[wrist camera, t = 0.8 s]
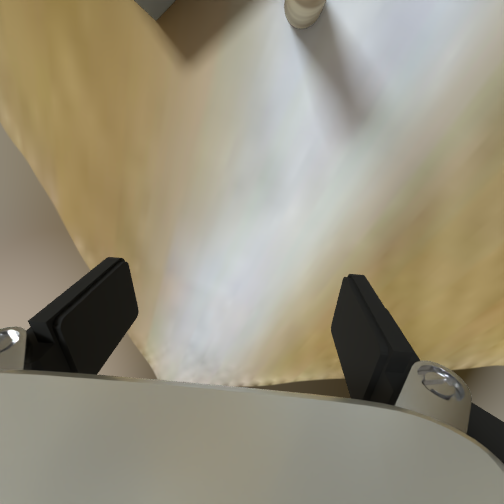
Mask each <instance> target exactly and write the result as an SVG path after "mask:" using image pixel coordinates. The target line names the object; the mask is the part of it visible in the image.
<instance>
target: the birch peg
mask: <svg viewBox="0 0 504 504" xmlns="http://www.w3.org/2000/svg"><path fill="white" fill-rule="evenodd" d="M325 2H326V0H285V3H284V10H285V15H286V18H287V20H288V21H289V23H290V24H291V25H292V26H293V27H295V28H298V29H305V28H308V27H310V26H311V25H313V24H314V23H315V22H316V20H317V19H318V17H319V15H320V13H321V11H322V9H323V7H324V4H325Z"/></svg>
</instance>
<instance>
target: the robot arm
mask: <svg viewBox="0 0 504 504" xmlns="http://www.w3.org/2000/svg"><path fill="white" fill-rule="evenodd" d="M137 316H138V306H137V301H136V297H135V292H134V287H133V283H132V278H131V273H130V269H129V265H128V263H127V262H125V260H124V259H123V258H114V257H108V258H106V259H105V260H104V261H102V262H101V263H100V264H99V265H97V266H96V267H95V268H94V269H92V270H91V271H90V272H89V273H87V274H86V275H85V276H84V277H82V278H81V279H80V280H79V281H77V282H76V283H75V284H74V285H72V286H71V287H70V288H69V289H67V290H66V291H65V292H64V293H62V294H61V295H60V296H59V297H57V298H56V299H55V300H54V301H52V302H51V303H50V304H49V305H47V306H46V307H45V308H44V309H42V310H41V311H40V312H39V313H37V314H36V315H35V316H34V317H32V318H31V319H30V320H29V321H28V322H29V324H30V326H31V327H30V328H29V329H28V330H27V331H26V330H25V329H23V328H21V327H7V328H3V329H0V504H504V422H502V421H501V420H499V419H498V418H496V417H494V416H493V415H491V414H490V413H488V412H486V411H485V410H483V409H481V408H480V407H478V406H477V405H475V404H473V403H472V402H471V401H472V397H471V392H470V390H469V388H468V386H467V385H466V384H465V382H464V381H463V380H462V379H461V378H460V377H459V376H458V375H456V374H455V373H454V372H453V371H451V370H449V369H448V368H446V367H444V366H442V365H440V364H438V363H435V362H431V361H420V359H419V358H418V356H417V355H416V353H415V352H414V350H413V349H412V347H411V345H410V344H409V342H408V341H407V339H406V338H405V336H404V335H403V333H402V331H401V330H400V328H399V327H398V325H397V324H396V322H395V321H394V319H393V317H392V316H391V314H390V313H389V311H388V310H387V309H386V308H385V307H384V305H383V304H382V302H381V301H380V299H379V298H378V296H377V294H376V293H375V291H374V290H373V288H372V287H371V285H370V283H369V282H368V280H367V279H366V277H365V276H364V275H356V274H349V275H348V277H344V278H343V281H342V285H341V289H340V293H339V297H338V301H337V305H336V309H335V313H334V317H333V321H332V325H331V332H332V336H333V340H334V343H335V346H336V350H337V353H338V356H339V360H340V363H341V366H342V370H343V373H344V376H345V380H346V383H347V386H348V390H349V393H350V397H351V399H350V398H341V397H332V396H323V395H315V394H305V393H295V392H283V391H273V390H263V389H253V388H242V387H232V386H221V385H210V384H199V383H187V382H176V381H165V380H154V379H142V378H130V377H118V376H105V375H97V373H98V372H99V371H100V369H101V368H102V366H103V365H104V364H105V362H106V361H107V359H108V358H109V356H110V355H111V354H112V352H113V351H114V349H115V348H116V346H117V345H118V343H119V342H120V341H121V339H122V338H123V337H124V335H125V333H126V332H127V331H128V329H129V328H130V327H131V325H132V324H133V322H134V321H135V319H136V318H137Z"/></svg>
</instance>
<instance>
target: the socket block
mask: <svg viewBox="0 0 504 504" xmlns="http://www.w3.org/2000/svg"><path fill="white" fill-rule="evenodd" d="M134 1H135V2H136V3H138V4H139V5H140V6H141V7H142V8H143V9H144V10H145V11H146V12H147V13H148V14H149V15H150V16H151V17H152V18H153V19H154V20H155V21H156V20H157V19H158V18H159V17H160V16H161V15H162V14H163V13H164V12H165V11H166V10H167V9H168V8H169V7H170V6H171V5H172V4H173V3H174V2H175V0H134Z"/></svg>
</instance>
